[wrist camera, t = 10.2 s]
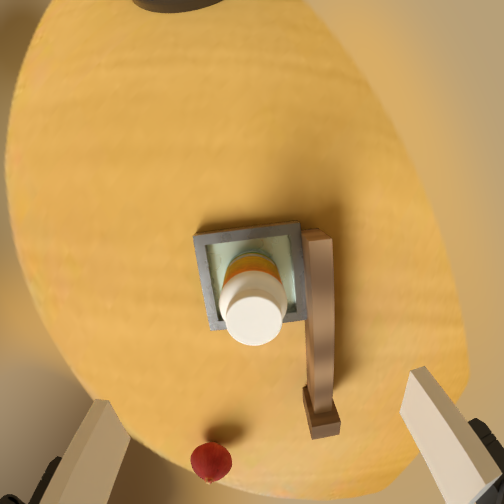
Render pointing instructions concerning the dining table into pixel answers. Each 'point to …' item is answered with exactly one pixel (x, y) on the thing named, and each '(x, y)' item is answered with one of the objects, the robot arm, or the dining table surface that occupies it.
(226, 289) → the supplement bottle
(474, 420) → the robot arm
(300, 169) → the dining table surface
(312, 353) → the door edge rail
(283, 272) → the socket
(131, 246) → the dining table surface
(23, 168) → the dining table surface
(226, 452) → the onion
